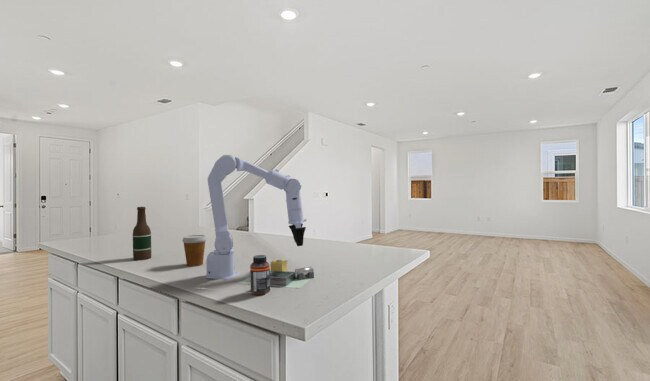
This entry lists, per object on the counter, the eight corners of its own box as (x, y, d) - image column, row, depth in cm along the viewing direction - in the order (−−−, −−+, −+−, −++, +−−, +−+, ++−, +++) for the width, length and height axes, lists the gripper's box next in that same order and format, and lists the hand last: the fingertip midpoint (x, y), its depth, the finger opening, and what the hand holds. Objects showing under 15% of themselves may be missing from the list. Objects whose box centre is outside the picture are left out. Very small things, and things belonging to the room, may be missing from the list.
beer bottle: (155, 257, 152) (154, 206, 152) (138, 261, 146) (137, 207, 145) (146, 256, 156) (145, 206, 156) (129, 259, 150) (128, 207, 149)
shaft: (298, 281, 112) (298, 270, 112) (294, 278, 115) (294, 267, 115) (314, 278, 115) (314, 267, 115) (309, 276, 118) (309, 265, 118)
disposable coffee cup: (180, 264, 139) (179, 236, 139) (202, 260, 145) (202, 233, 145) (186, 268, 131) (185, 238, 131) (210, 264, 137) (209, 236, 137)
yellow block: (270, 275, 118) (270, 261, 118) (276, 272, 122) (275, 258, 122) (282, 276, 117) (282, 261, 117) (287, 273, 121) (287, 259, 121)
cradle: (263, 285, 108) (263, 276, 108) (274, 278, 116) (274, 270, 116) (286, 287, 106) (286, 278, 106) (295, 280, 113) (295, 271, 113)
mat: (238, 284, 110) (238, 283, 110) (260, 271, 125) (260, 270, 125) (299, 289, 103) (299, 288, 103) (315, 275, 119) (315, 274, 119)
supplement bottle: (252, 289, 104) (251, 254, 103) (270, 289, 104) (270, 253, 104) (249, 296, 98) (248, 258, 97) (269, 295, 98) (268, 257, 98)
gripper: (307, 209, 120) (311, 245, 120) (302, 206, 134) (306, 239, 135) (288, 212, 119) (292, 248, 119) (285, 208, 133) (289, 241, 133)
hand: (298, 243), depth 127 cm, fingers open, 7 cm apart
